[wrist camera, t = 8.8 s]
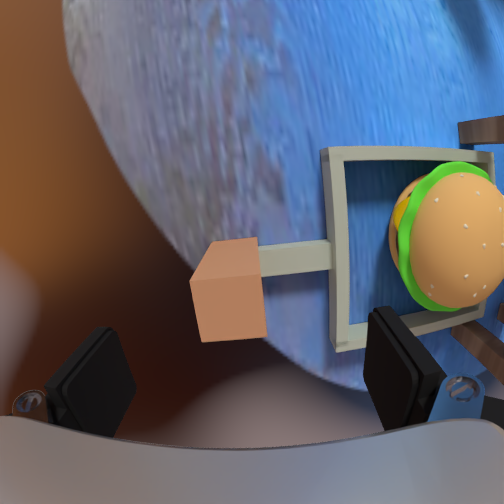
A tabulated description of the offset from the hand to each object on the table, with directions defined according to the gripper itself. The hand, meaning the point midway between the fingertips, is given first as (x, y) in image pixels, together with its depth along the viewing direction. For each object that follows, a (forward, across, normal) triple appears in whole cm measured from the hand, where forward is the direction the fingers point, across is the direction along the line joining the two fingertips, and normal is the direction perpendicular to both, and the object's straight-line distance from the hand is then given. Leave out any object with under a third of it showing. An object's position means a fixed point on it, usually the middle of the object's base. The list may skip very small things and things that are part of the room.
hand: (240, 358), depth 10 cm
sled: (+14, -10, +1) cm, 17 cm away
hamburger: (+15, -16, 0) cm, 22 cm away
